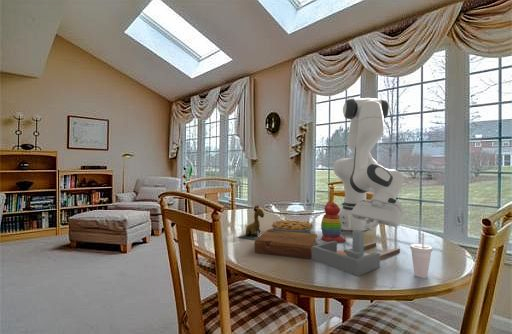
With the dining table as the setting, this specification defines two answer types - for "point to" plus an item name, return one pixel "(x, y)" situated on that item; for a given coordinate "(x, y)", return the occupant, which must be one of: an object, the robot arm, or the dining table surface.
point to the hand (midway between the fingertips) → (367, 229)
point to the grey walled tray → (344, 259)
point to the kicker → (357, 245)
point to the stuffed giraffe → (254, 224)
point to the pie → (292, 226)
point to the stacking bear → (331, 224)
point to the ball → (341, 252)
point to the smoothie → (421, 258)
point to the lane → (384, 254)
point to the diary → (286, 244)
